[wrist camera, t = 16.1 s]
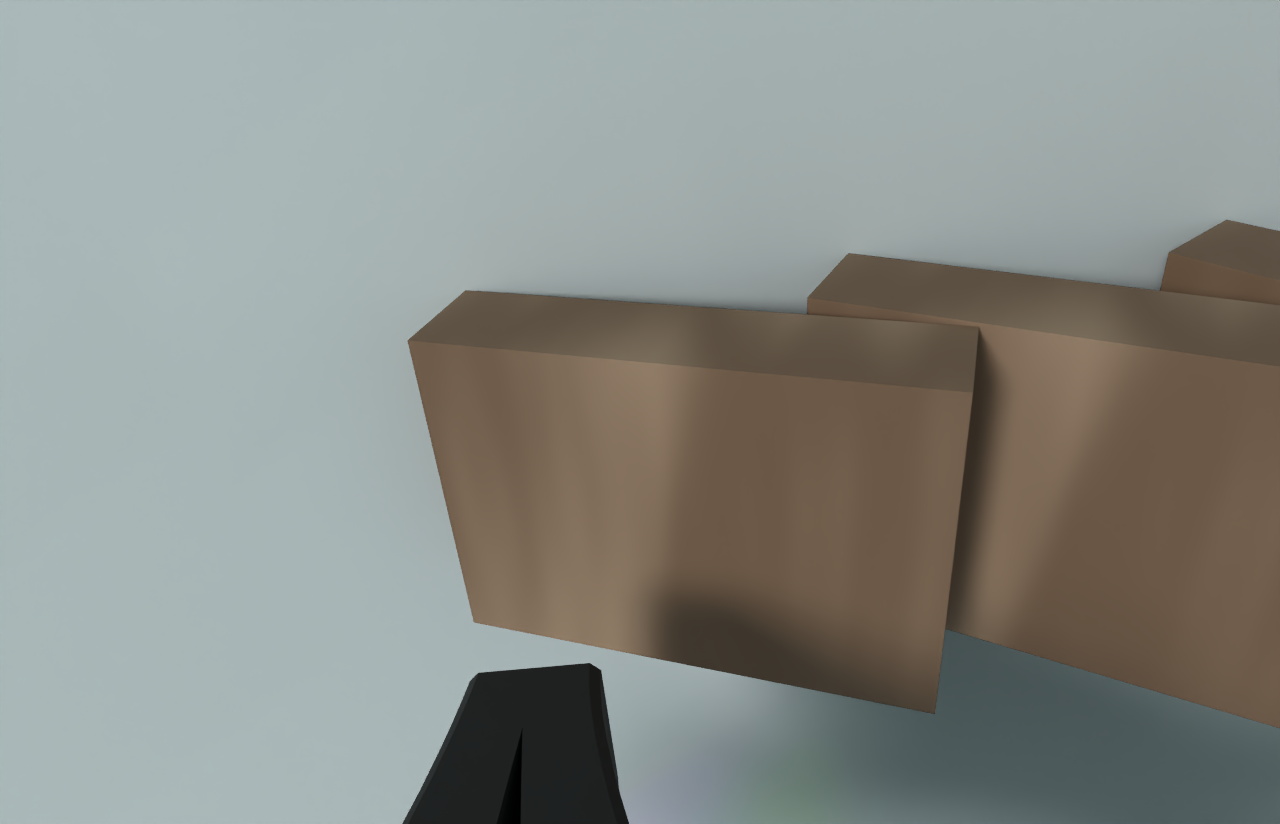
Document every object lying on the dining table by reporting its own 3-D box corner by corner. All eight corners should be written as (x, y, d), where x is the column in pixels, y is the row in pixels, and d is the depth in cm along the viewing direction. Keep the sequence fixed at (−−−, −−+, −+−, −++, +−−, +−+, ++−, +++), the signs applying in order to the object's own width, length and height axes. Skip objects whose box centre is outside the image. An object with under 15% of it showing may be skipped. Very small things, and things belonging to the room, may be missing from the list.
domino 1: (465, 289, 14) (979, 326, 11) (517, 558, 16) (942, 631, 14) (408, 340, 12) (973, 392, 10) (473, 621, 15) (934, 713, 13)
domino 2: (848, 253, 13) (1472, 328, 10) (838, 528, 16) (1334, 659, 13) (807, 297, 12) (1496, 398, 9) (804, 586, 15) (1339, 746, 12)
